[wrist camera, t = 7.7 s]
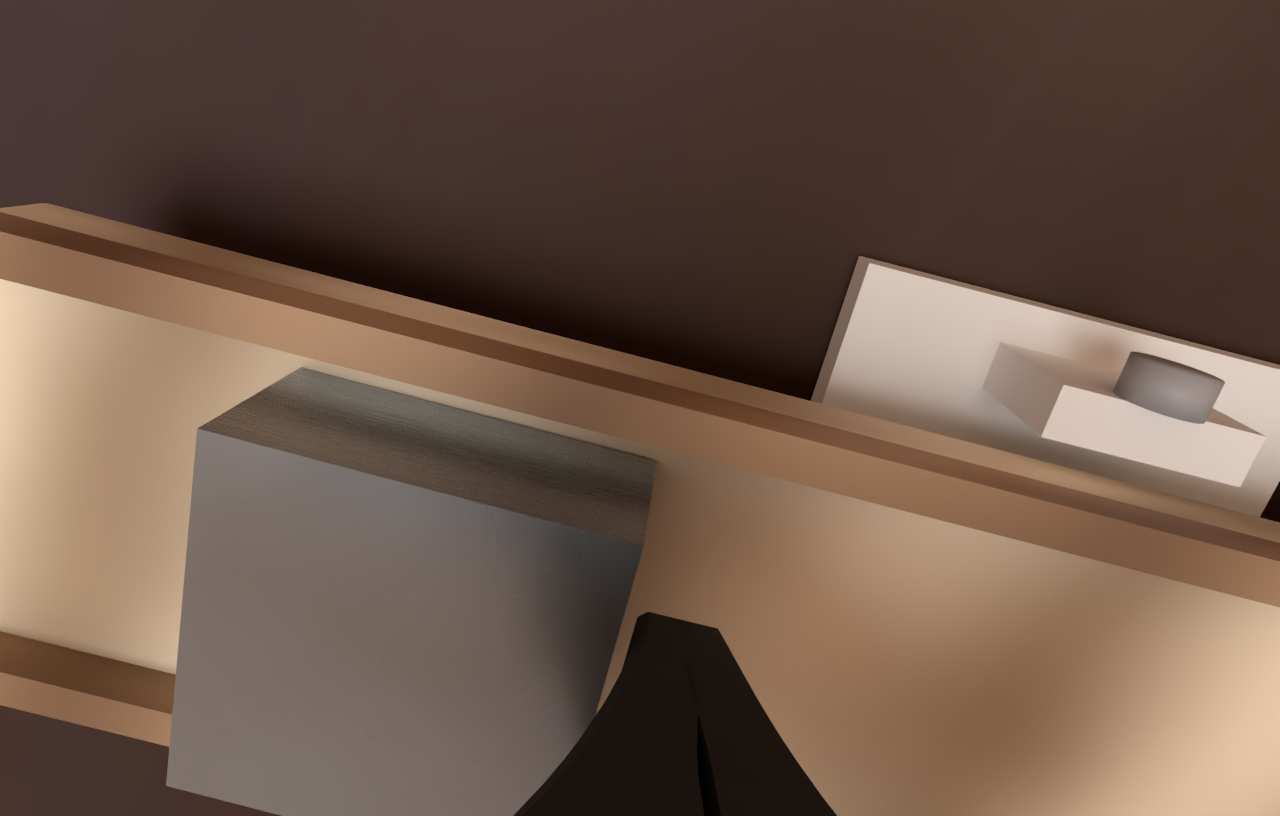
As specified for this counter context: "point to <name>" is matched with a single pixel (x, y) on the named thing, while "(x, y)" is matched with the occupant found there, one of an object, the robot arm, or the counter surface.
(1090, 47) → the counter surface
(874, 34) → the counter surface
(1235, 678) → the beam
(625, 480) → the steel block
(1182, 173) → the counter surface
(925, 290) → the fulcrum stand
